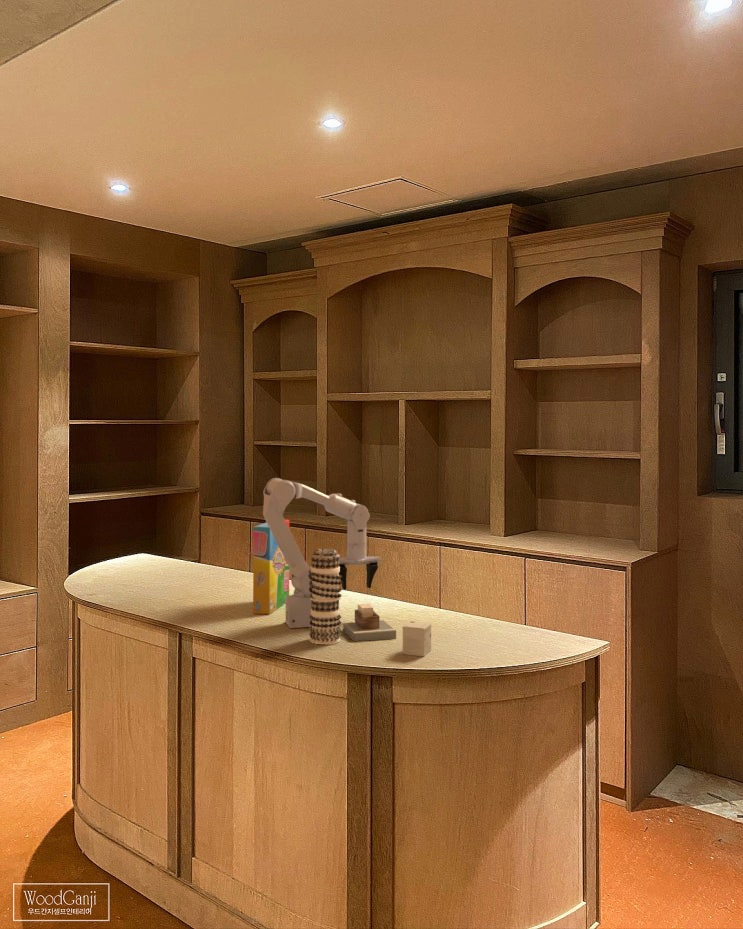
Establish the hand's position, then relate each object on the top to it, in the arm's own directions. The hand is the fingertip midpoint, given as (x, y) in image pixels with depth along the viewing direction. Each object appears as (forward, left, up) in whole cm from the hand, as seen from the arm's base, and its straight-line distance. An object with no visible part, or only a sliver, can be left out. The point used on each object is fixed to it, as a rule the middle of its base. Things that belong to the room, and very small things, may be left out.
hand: (356, 588), depth 243 cm
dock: (-1, -17, -9) cm, 19 cm away
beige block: (-1, -13, -5) cm, 14 cm away
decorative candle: (-15, -20, -10) cm, 27 cm away
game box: (-22, +22, -10) cm, 33 cm away
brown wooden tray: (-1, -15, -7) cm, 16 cm away
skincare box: (+6, -37, -10) cm, 39 cm away
